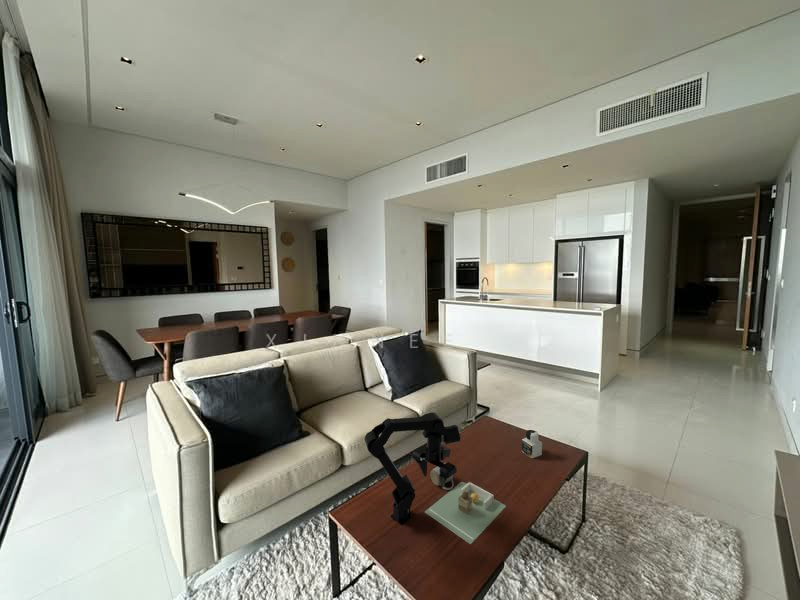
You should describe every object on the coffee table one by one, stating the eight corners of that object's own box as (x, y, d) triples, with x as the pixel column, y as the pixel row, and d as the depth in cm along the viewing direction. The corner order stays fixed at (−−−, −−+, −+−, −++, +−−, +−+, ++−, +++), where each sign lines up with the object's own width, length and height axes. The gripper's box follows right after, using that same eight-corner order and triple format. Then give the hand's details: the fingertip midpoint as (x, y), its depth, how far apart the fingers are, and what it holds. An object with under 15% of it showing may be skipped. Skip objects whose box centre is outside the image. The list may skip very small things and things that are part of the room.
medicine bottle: (521, 451, 174) (521, 430, 172) (531, 448, 177) (531, 427, 175) (531, 458, 167) (532, 436, 166) (542, 455, 170) (542, 433, 169)
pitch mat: (470, 545, 117) (470, 544, 117) (424, 512, 133) (424, 511, 133) (506, 506, 135) (506, 505, 135) (461, 482, 151) (461, 481, 151)
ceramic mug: (429, 481, 152) (429, 465, 151) (442, 474, 157) (442, 459, 156) (444, 494, 143) (444, 478, 142) (458, 487, 148) (458, 471, 147)
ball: (480, 493, 137) (480, 500, 138) (473, 489, 140) (472, 496, 141) (476, 499, 135) (476, 506, 136) (468, 495, 137) (468, 501, 138)
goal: (485, 509, 133) (485, 503, 133) (460, 495, 142) (460, 489, 141) (493, 501, 138) (493, 495, 137) (469, 488, 146) (469, 481, 146)
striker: (466, 514, 131) (466, 497, 130) (458, 509, 134) (458, 492, 133) (472, 509, 134) (472, 492, 133) (464, 504, 137) (464, 487, 136)
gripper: (465, 446, 131) (464, 483, 132) (430, 429, 144) (429, 463, 146) (447, 458, 123) (447, 496, 125) (412, 439, 136) (412, 474, 138)
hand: (433, 481), depth 133 cm, fingers open, 9 cm apart
